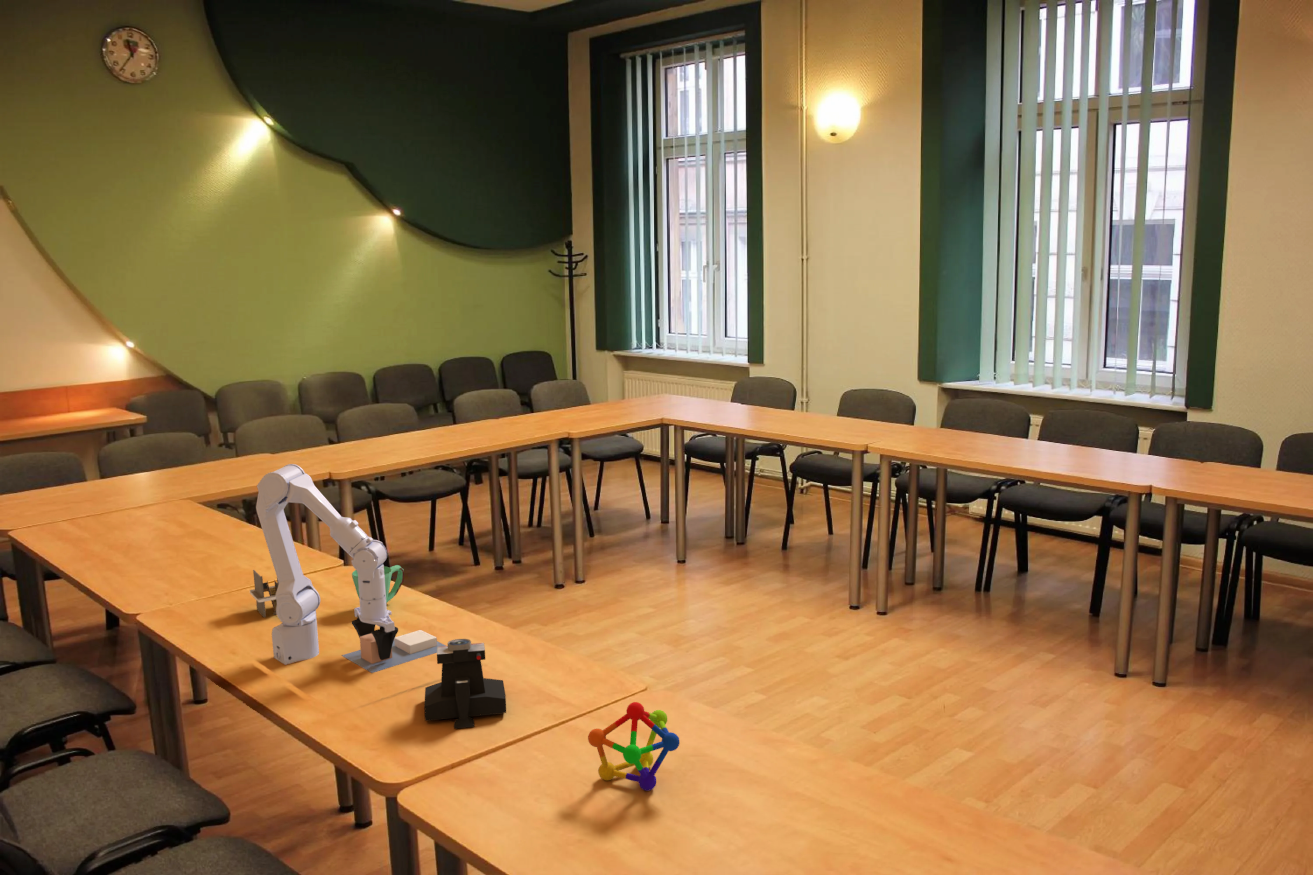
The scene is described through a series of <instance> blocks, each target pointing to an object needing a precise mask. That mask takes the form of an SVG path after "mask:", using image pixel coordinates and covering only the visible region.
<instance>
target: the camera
mask: <svg viewBox="0 0 1313 875" xmlns="http://www.w3.org/2000/svg"><path fill="white" fill-rule="evenodd" d="M484 660H486V648H485V643H484V642H476V643H472V641H471V640H470V639H468V638H454V639H451V640H449V641H448V642H447V645H446V646H441V647H437V653H436V663H437V664H436V665H441V679H440V680H441V682H437V683H434V684H431V685H427V687H425V688H424V689H425V690H424V707H423V709H424V722H426V721H437V720H439V721H440V720H447V719H454V724H453V725H454V726H453V727H454V729H463V728H471V727H472V728H473V727H475V720H474V718H473V717H479V716H488V715H496V714H497V715H499V714H507V700H506V699H507V697H506V690H505V689H506V688H505V685H504V680H503V679H502V680H501V679H496V678H494V679H493V678H487V677H484V673H483V666H482V661H484ZM456 718H457V719H456Z"/></svg>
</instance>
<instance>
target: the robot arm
mask: <svg viewBox="0 0 1313 875" xmlns="http://www.w3.org/2000/svg"><path fill="white" fill-rule="evenodd" d="M256 487H257V490H258V494H257V500H256V504H255V509H256V514H257V517H258V520H259V523H260V526H261V529H262V533H263V536H264V539H265V543H266V545H267V546H266V547H267V549H268V552H269V555H270V558H271V562H272V565H273V570H274V572H275V575H276V579H277V578H278V582H279V586H278V589H277V592H276V595H275V597H276V600H277V607H276V613H277V615H276V616H277V619H279V620H280V621H279V622H281V623H280V624H279V625H276V626H274V627H273V628H272V631H271V638H272V639H271V642H272V653H273V659H275V660H277V661H278V662H279V663H281V664H283V665H285V666H286V665H289V664H294V663H296V662H297V663H298V662H300V661H306V660H310V659H314V658H315V657H317V656H319V654H320V646H319V634H318V633H319V632H318V621H317V609H319V607H320V604H321V595H320V593H319V592H318V591H317V589H316V588H315V586H313V583H312V580H311V579H310V578H308V577H307V576H305V575H304V573H303V569H302V565H301V563H300V560H299V557H298V554H297V550H296V546H295V544H294V540H293V536H292V534H291V530H290V527H289V523H288V520H287V517H286V514H285V510H284V509H285V508H286V507H287V505H288V504H289V503H293V504H303V505H304V506H305V507H306V508H307V509H309V510H310V511H311V512H312V513H313V514H314V515H315V516H316V517H318V518H319V519H320V520H321V521H322V522H323V523H324V524H325V525H326V526H327V527H328V528H329V536H330V537H331V539H333V540H334V541H335V542H336V543H337V545H339V546H340V547H341V549H343V551H345V552H346V553H347V554H348V555H349V556H350V557H351V558H352V559H351V565H352V567H353V568H354V569H355V570H356V571H357V573H358V585H359V597H358V599H359V606H357V607H354V608H353V609H354V617H355V618H356V619H354V620H351V625H352V626H353V627H354V629H355V631H356V634H357V635H358V638H359V639H360V637H361V636H364V635H367V634H371V633H372V635H373V636H374V638H375V641H376V644H377V648H378V653H379V657H380V659H381V660H384V659H388V658H390V654H391V649H392V644H393V641H394V638H395V637H397V634H398V633H399V628H398V627H397V626H395V621H393V620H392V619H391V617H390V615H392V614H393V613H392V611H391V610H389V609H387V603H386V590H385V575H384V566H385V565H384V563H385V561H386V560H387V558H388V551H387V548H386V546H385V545H384V543H383V542H382V541H380V540H377V539H374V538H372V537H371V536H369V535H368V534H367V533H366V532H365V531H364V530H363V529H362V528H361V527H360V526H359V522H358V521H357V519H354V520H353V519H352V518H351V517H347V516H346V517H344V516H342V515H341V514H340V513H339V512H338V511H337V510H336V509H335V507H334V506H333V505H332V504H331V502H330V501H329V500H328V499H327V498H326V497H325V496H324V495H323V493H322V492H321V491H320V490H319V489H318V488H317V487H316V485H315V484H314V481H313V479H312V477H311V476H310V475H309V474H308V473H306V472H305V470H304V469H303V468H302V467H301V466H299V465H298V464H296V463H288V464H285V465H284V466H283V467H281V468H278V469H276V470H275V471H274V470H273V471H272V472H271V471H270V472H267V473H265V474H264V475H263V476H262V478H261V479H260V480H259V482H258V483H257V484H256ZM376 626H377V627H379V628H377V629H376Z"/></svg>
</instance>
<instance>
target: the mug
mask: <svg viewBox="0 0 1313 875" xmlns="http://www.w3.org/2000/svg"><path fill="white" fill-rule="evenodd" d="M395 572H397V576H396V580H395V581H394V584H393V586H392V587H391V581H392V575H393V573H395ZM384 575H385V590H386V604H388V602H390V601H391V600H392V599H393V598H394V597H395V596H396V595H397V594H398V592H399V590H400V589H401V587H402V585H403V584H404V582H405V570H404V568H402V566H401V565H398V564H396V565H393V566H390V567H388V566H385V565H384ZM351 577H352V581H353V585H354V587H355V591H356V594H357V597H358V598H359V585H358V573H357V571H356V569H355V570H354V571H352V573H351ZM390 587H391V588H390ZM390 589H391V590H390Z"/></svg>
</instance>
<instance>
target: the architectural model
mask: <svg viewBox="0 0 1313 875" xmlns="http://www.w3.org/2000/svg"><path fill="white" fill-rule="evenodd" d="M252 572H253V582H254V589H250V590H249V594H250V595H251V596H252V597H253V598H254V600H255V601H256V602H255V603H256V611H257V610H258V611H259V612H258V611H257V612H258V613H259V615H261V616H262V617H263V618H266V617H267V615H266V604H265V603H266V602H269V601H270V602H271V605H272V608H273V612H272V614H273V615H274V616H277V613H276V607H277V600H276V597H275V595H276V592H277V589H278V586H279V582H278V578H277V577H276V579H274V580H273V581H274V585H271V586H270V585H269V581H268V580H267V581H265V582H264V580H263V579H264V578H263V575H260V574H259V573H258V572H257V571H256V570H255V569H253V570H252ZM266 592H268V595H269V596H265V593H266Z"/></svg>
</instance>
